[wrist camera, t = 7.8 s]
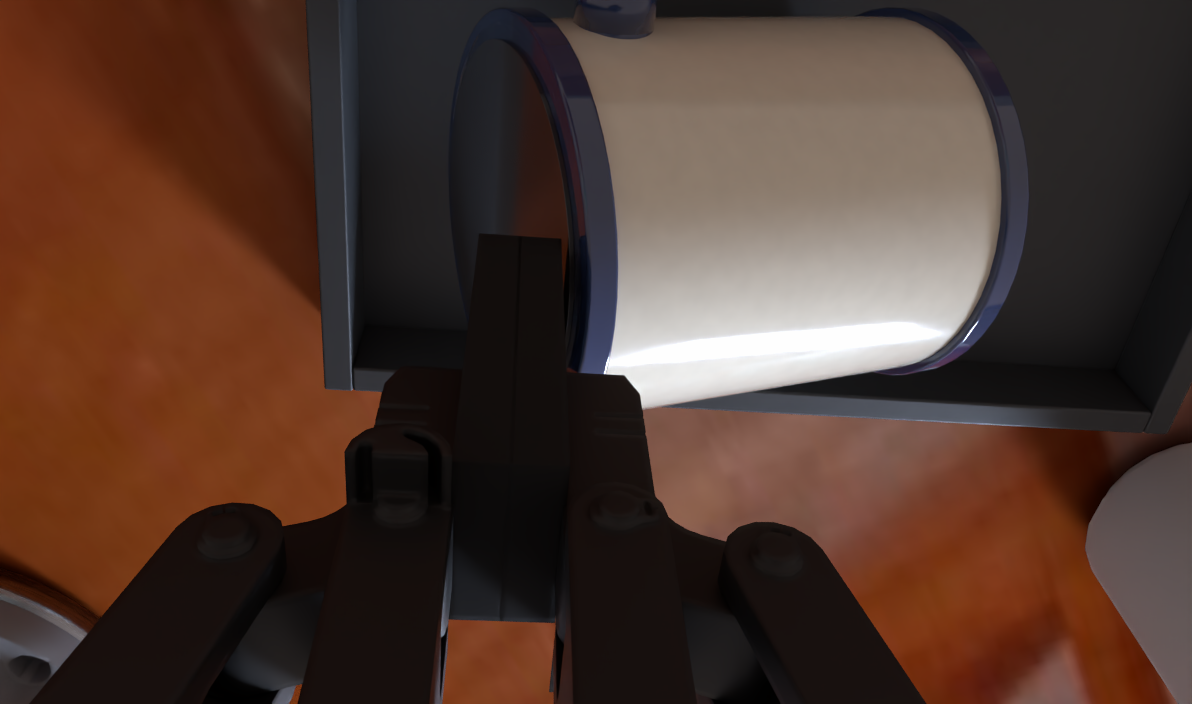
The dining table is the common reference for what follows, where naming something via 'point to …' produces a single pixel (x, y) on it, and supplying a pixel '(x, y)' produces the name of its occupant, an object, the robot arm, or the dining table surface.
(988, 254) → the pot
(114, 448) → the dining table surface
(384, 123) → the tray
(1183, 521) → the can
